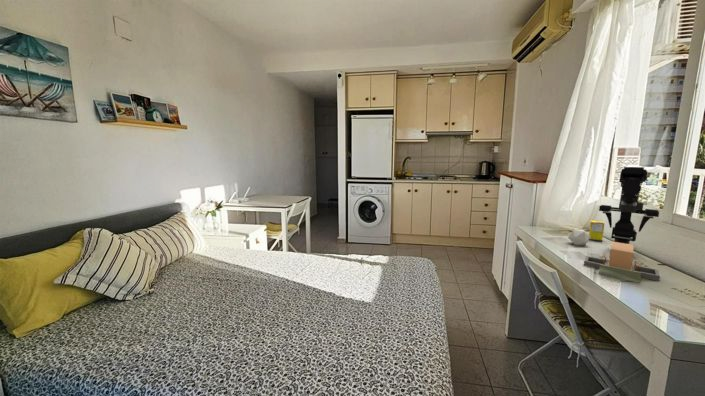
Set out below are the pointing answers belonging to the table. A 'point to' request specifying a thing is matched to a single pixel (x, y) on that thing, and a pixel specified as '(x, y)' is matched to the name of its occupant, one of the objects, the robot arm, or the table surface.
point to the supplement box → (596, 230)
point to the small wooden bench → (620, 271)
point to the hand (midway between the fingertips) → (624, 229)
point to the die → (579, 237)
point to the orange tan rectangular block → (621, 255)
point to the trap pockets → (645, 271)
